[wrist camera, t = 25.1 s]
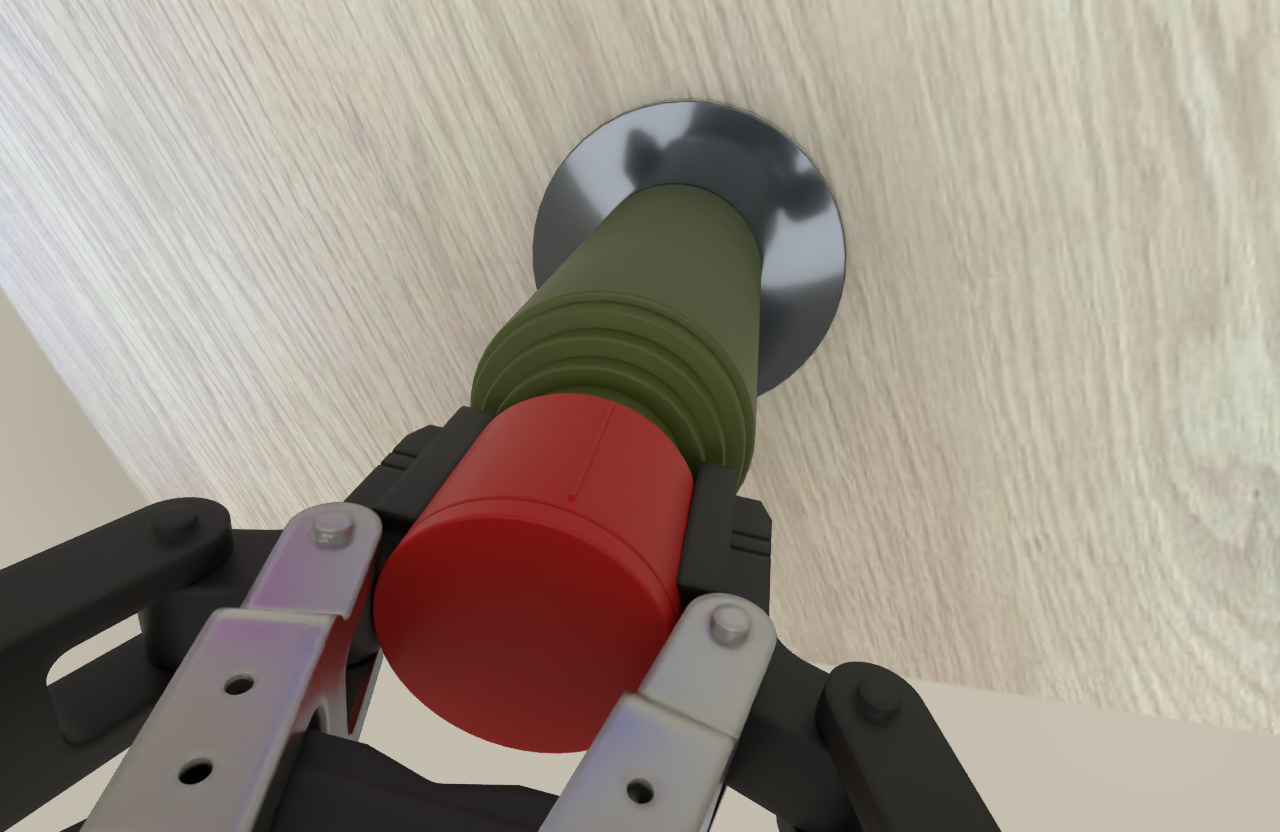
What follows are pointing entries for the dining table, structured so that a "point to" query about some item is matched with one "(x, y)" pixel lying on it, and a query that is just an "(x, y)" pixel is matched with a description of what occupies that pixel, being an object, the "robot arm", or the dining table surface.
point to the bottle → (647, 325)
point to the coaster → (739, 174)
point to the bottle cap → (540, 574)
